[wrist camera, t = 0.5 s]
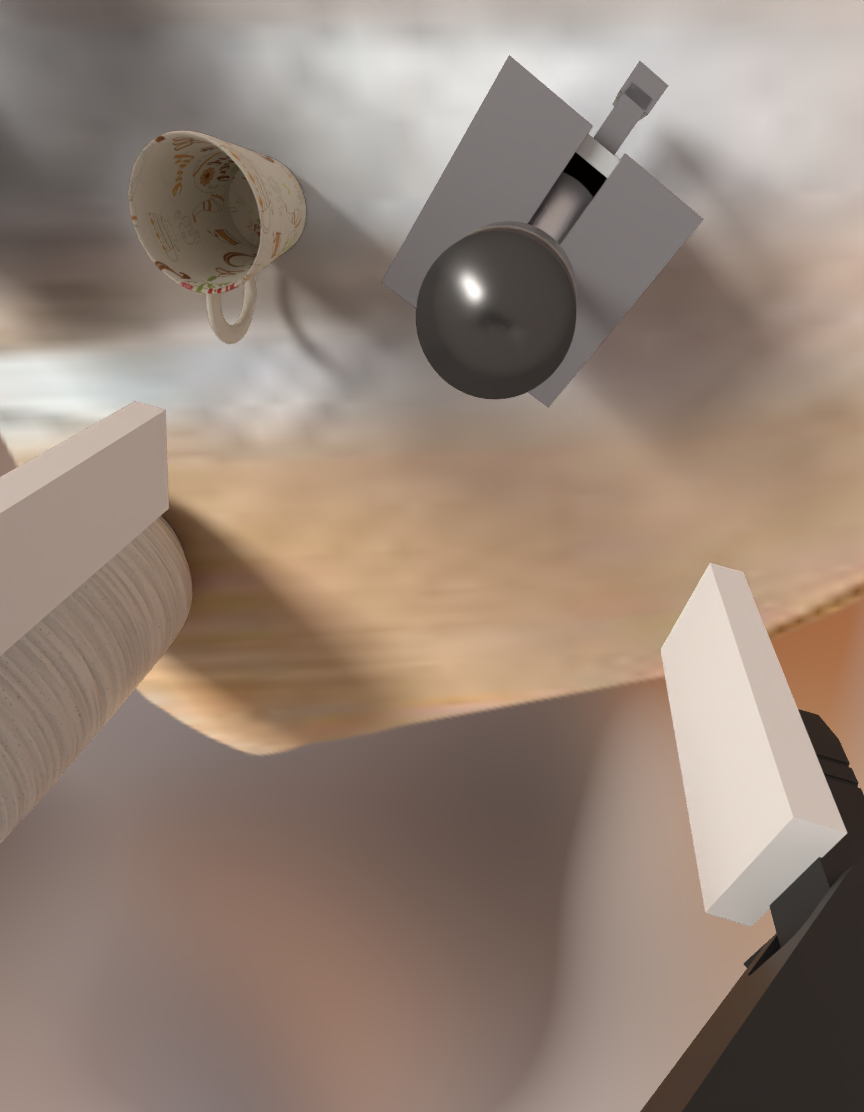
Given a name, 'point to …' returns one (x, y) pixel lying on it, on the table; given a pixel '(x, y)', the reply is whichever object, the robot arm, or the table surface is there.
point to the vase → (86, 664)
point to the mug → (214, 217)
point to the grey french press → (525, 180)
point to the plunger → (504, 300)
